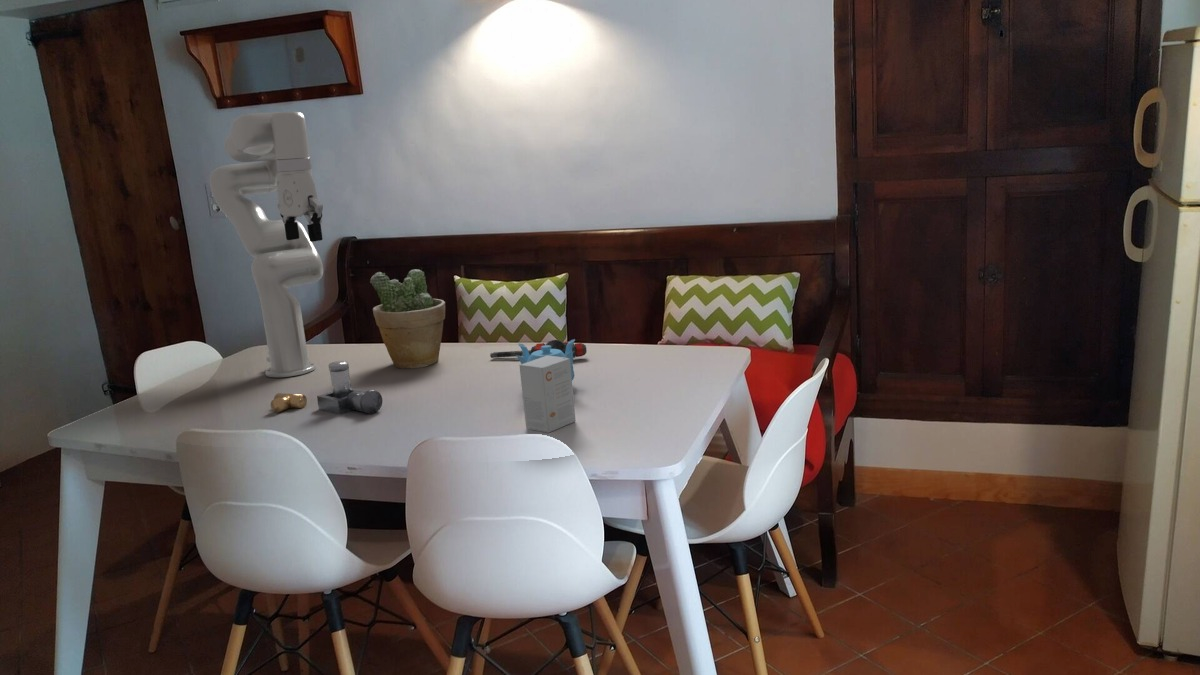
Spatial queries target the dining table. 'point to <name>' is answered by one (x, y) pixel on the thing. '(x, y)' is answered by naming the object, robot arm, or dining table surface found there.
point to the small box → (547, 393)
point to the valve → (555, 344)
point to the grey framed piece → (351, 402)
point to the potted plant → (409, 319)
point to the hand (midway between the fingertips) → (304, 240)
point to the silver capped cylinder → (340, 379)
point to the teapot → (548, 354)
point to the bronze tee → (287, 401)
